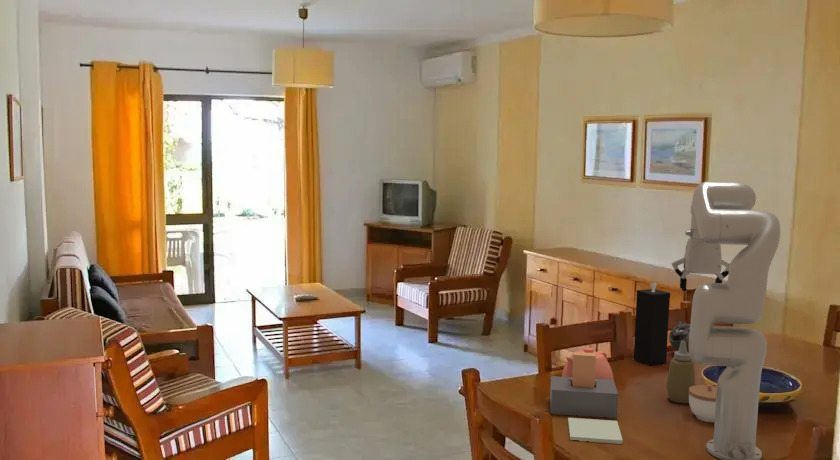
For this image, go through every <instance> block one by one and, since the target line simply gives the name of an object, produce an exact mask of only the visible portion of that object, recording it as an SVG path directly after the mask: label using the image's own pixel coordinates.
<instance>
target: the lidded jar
mask: <svg viewBox="0 0 840 460" xmlns="http://www.w3.org/2000/svg"><path fill="white" fill-rule="evenodd" d="M716 392H717V385H716V386H715V385H711V384H695V386H691V387H690V388H689V403H688V404H689V408H690V410H691V412H692V413H693V415H695V417H696V419H698V420H700V421H703V422H707V423H715V407H716Z"/></svg>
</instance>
